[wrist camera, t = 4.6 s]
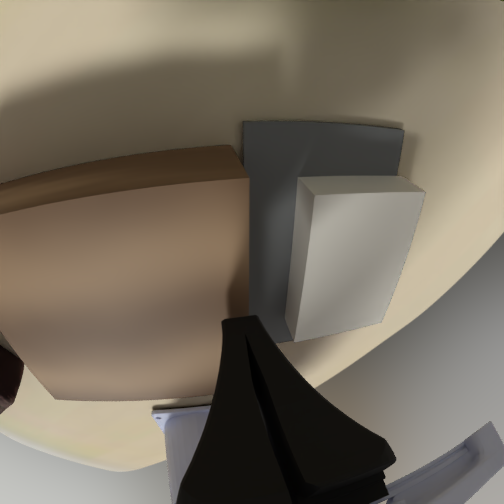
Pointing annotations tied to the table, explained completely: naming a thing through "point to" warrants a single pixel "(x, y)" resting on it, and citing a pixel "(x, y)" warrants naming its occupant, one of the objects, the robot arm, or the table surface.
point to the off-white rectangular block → (348, 251)
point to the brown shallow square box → (126, 272)
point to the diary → (9, 377)
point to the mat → (285, 190)
